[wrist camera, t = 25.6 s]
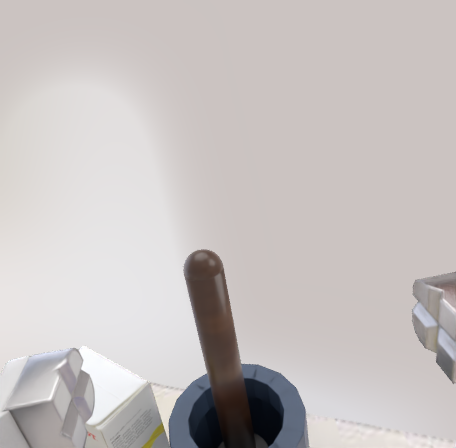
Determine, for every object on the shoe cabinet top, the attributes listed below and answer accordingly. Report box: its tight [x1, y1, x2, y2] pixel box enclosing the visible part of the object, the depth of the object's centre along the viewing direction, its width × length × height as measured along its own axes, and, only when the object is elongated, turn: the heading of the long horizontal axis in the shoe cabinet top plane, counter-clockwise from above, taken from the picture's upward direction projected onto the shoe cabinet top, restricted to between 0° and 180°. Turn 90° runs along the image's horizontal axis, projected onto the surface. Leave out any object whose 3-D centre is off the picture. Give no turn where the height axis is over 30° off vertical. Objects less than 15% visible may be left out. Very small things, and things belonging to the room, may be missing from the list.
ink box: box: [78, 346, 170, 448], centre depth 33 cm, size 9×5×12 cm, turn 54°
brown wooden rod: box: [184, 250, 268, 448], centre depth 27 cm, size 4×4×22 cm
